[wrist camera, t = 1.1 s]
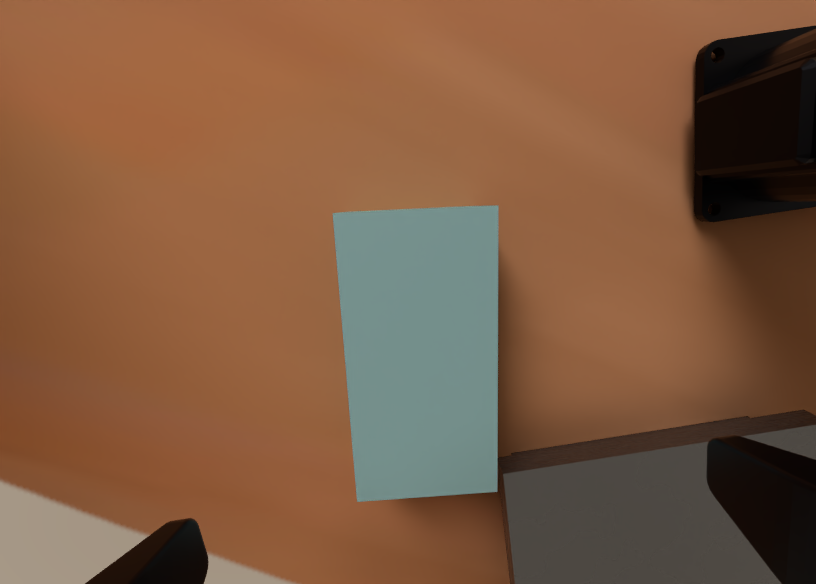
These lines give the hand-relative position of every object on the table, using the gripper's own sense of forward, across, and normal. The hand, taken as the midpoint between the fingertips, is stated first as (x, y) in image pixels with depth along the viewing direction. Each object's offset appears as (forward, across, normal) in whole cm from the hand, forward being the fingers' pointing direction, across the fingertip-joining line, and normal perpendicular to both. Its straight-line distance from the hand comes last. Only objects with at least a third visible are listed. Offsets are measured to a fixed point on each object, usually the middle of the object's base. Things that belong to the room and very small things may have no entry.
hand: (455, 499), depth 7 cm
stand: (+10, -9, +10) cm, 17 cm away
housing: (+10, 0, 0) cm, 10 cm away
